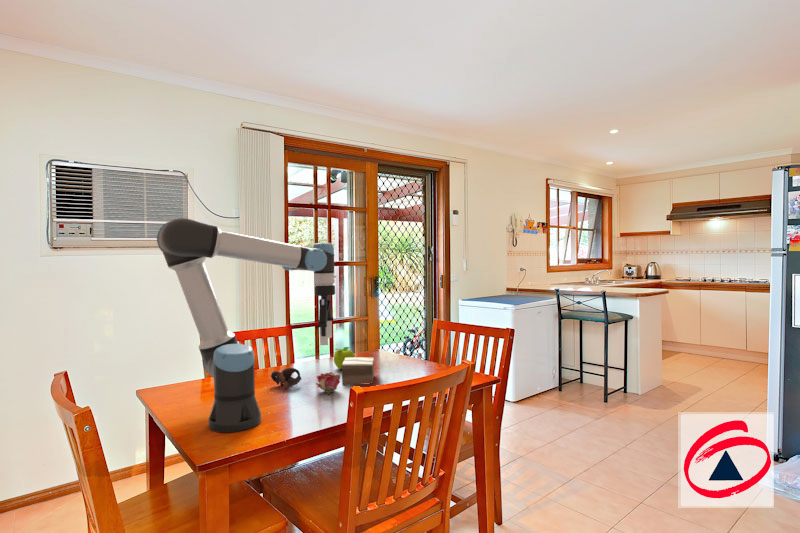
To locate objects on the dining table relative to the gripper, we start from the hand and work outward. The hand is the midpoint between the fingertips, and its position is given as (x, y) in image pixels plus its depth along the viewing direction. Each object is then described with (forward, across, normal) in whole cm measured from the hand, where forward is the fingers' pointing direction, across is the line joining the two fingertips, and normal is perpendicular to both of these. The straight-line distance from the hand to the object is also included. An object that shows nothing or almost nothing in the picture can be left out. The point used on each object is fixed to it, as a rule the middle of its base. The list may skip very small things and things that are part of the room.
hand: (326, 341), depth 170 cm
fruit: (+20, +33, -4) cm, 38 cm away
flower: (+19, -1, 0) cm, 19 cm away
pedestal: (+19, +15, -11) cm, 27 cm away
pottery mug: (+19, +8, +17) cm, 27 cm away
